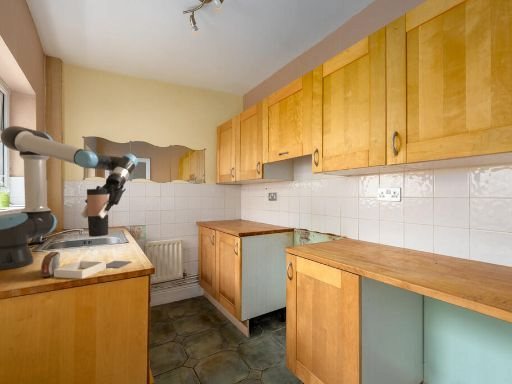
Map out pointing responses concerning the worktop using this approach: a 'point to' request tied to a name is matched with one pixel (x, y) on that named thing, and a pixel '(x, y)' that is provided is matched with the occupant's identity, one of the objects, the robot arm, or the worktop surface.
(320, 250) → the worktop surface
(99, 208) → the travel mug
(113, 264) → the mat
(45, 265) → the brown arched piece
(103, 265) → the tray rim
